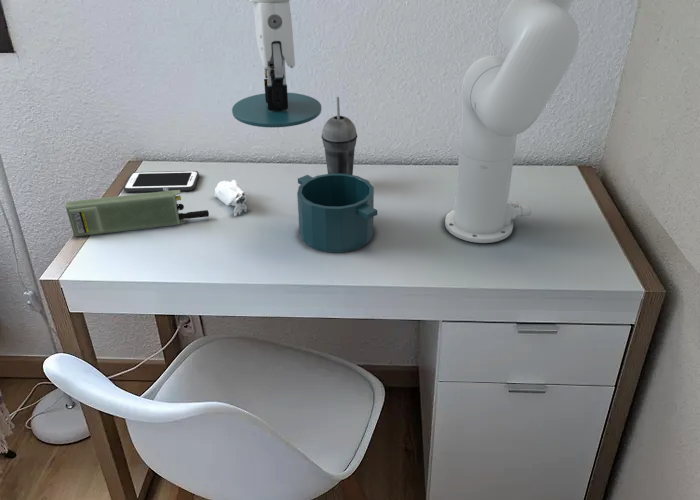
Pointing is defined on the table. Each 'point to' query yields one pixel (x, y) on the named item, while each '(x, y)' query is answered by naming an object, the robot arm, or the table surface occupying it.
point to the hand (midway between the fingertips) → (276, 104)
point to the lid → (276, 111)
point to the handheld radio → (127, 213)
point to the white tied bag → (231, 195)
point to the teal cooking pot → (335, 212)
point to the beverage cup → (339, 143)
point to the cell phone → (161, 181)
